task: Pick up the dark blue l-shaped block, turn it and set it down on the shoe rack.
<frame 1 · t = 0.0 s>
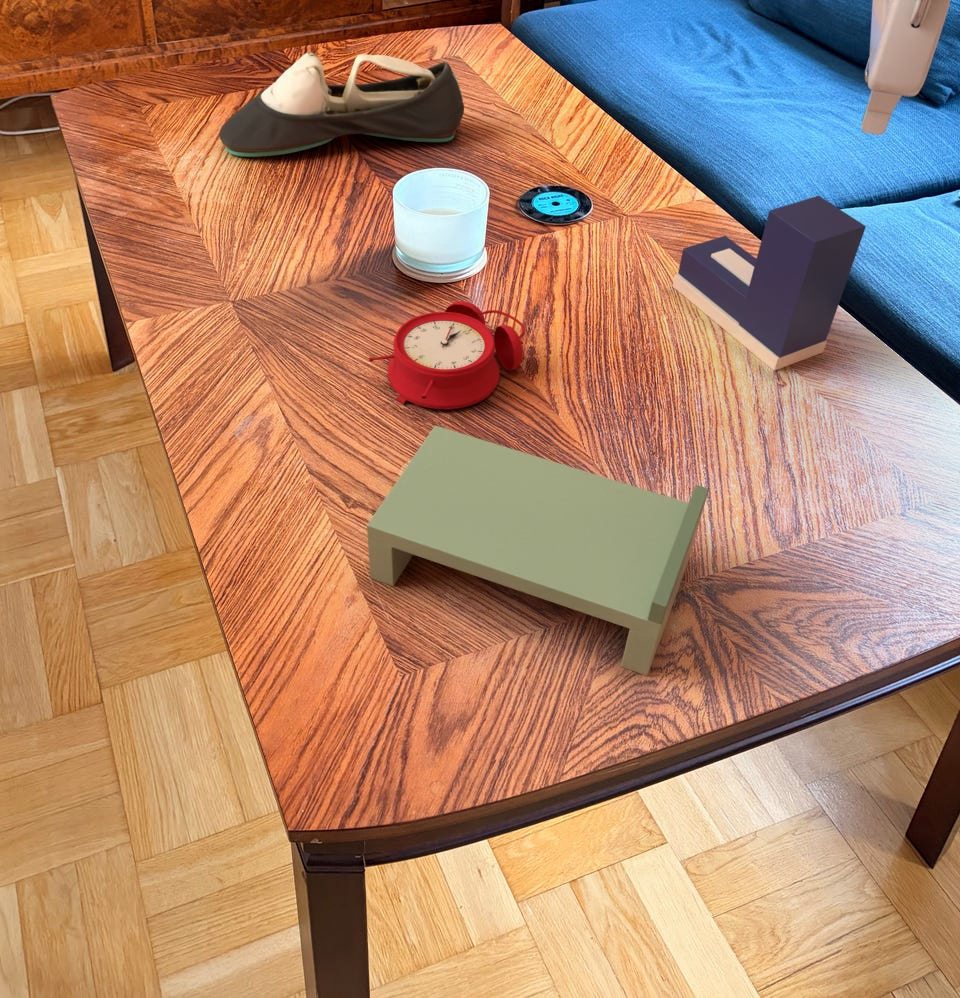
hand: (873, 104, 80), 25 cm above the table, tool pointing down, fingers open, 8 cm apart
alarm clock: (456, 370, 95), on the table
dark blue l-shaped block: (778, 345, 99), on the table
shoe rack: (532, 568, 78), on the table
ballet flat: (344, 142, 126), on the table
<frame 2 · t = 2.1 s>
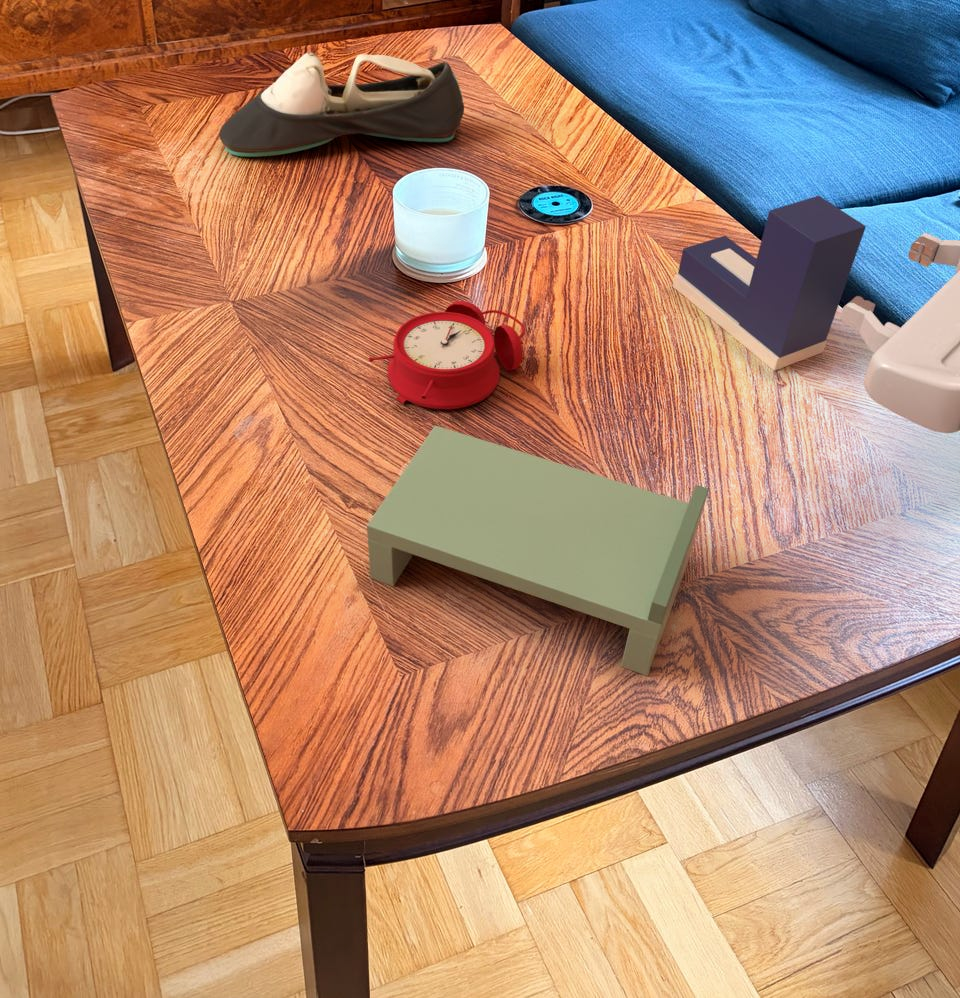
hand: (881, 275, 78), 17 cm above the table, tool horizontal, fingers open, 8 cm apart
nothing on the table moved.
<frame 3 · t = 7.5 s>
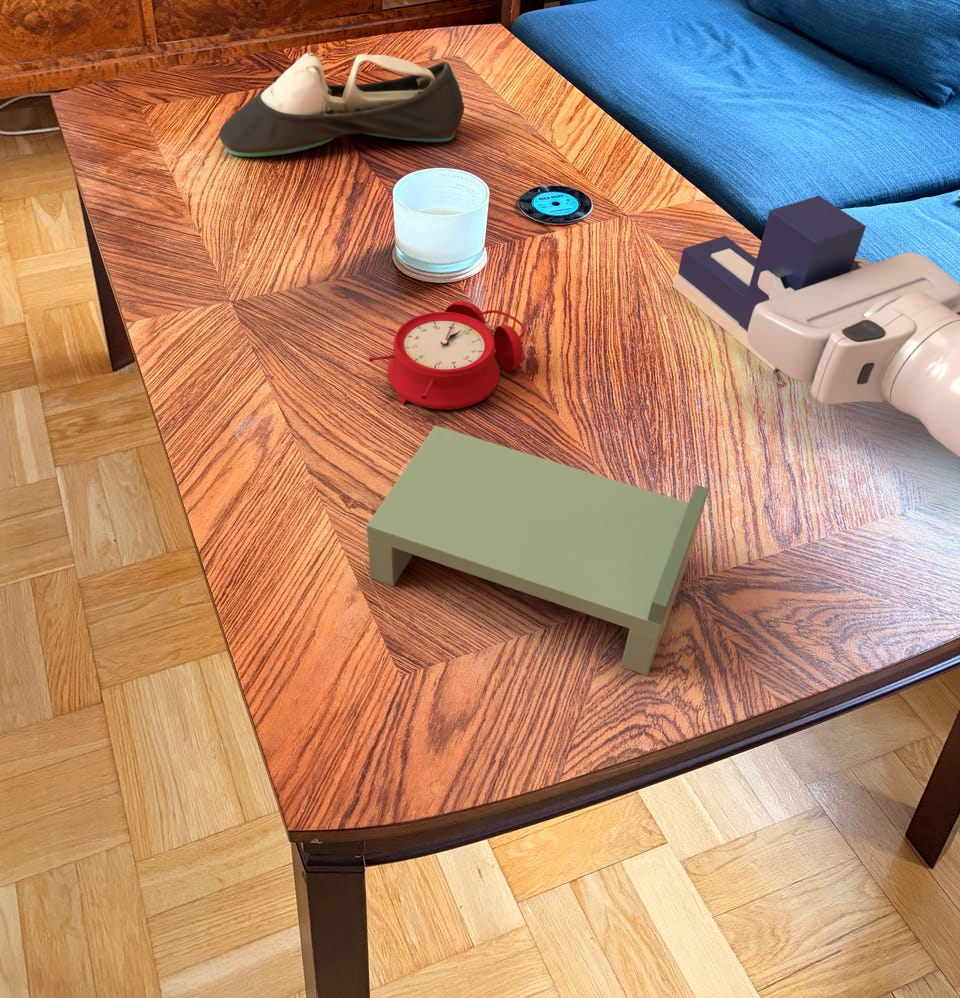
hand: (794, 266, 93), 9 cm above the table, tool horizontal, fingers closed on dark blue l-shaped block, 6 cm apart
dark blue l-shaped block: (778, 345, 99), on the table, touching gripper
everything else where it was.
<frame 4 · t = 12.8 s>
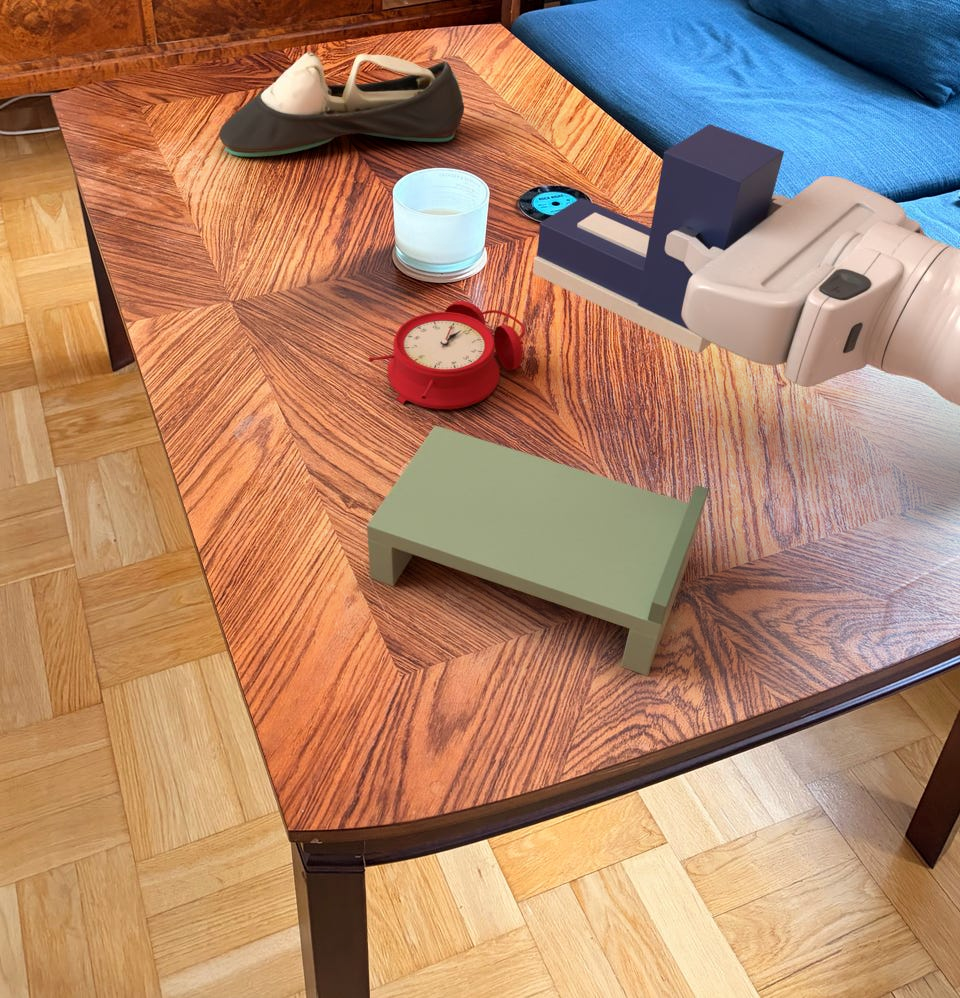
hand: (698, 218, 73), 22 cm above the table, tool horizontal, fingers closed on dark blue l-shaped block, 6 cm apart
dark blue l-shaped block: (687, 320, 79), point 13 cm above the table, touching gripper
everything else where it was.
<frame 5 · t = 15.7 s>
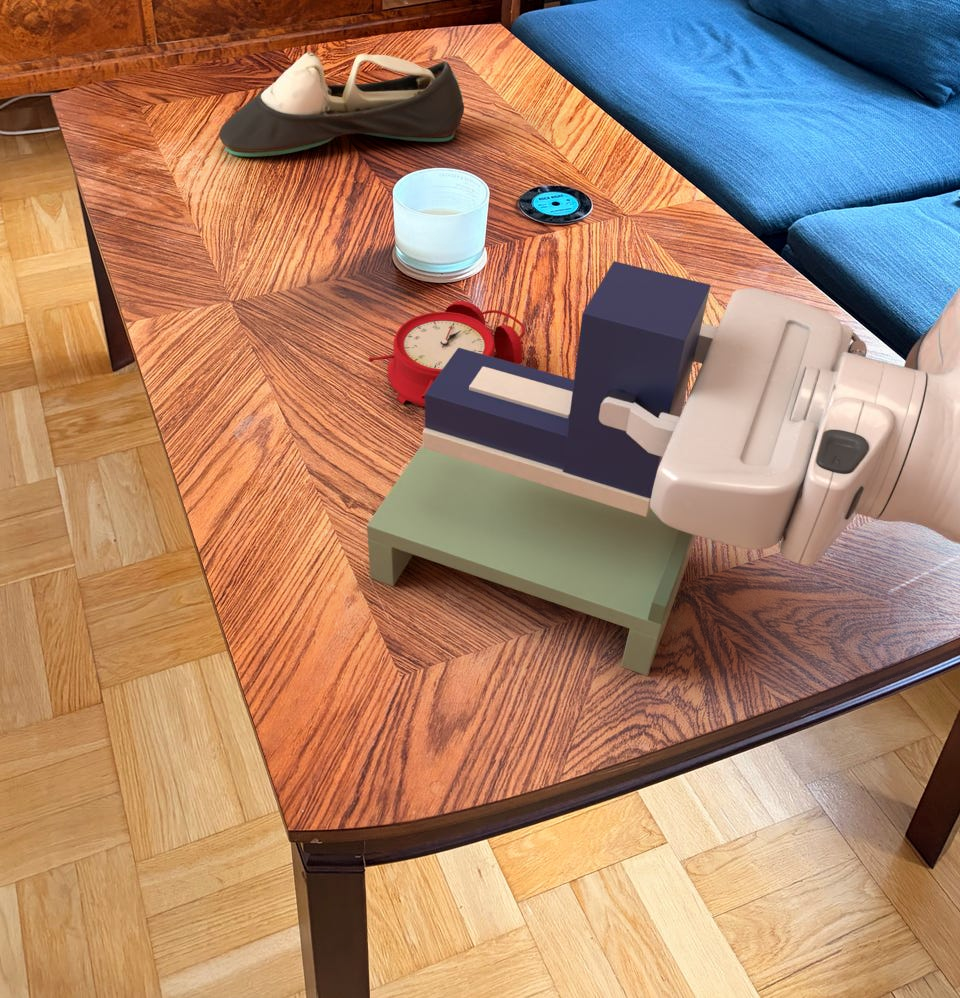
hand: (620, 370, 62), 21 cm above the table, tool horizontal, fingers closed on dark blue l-shaped block, 6 cm apart
dark blue l-shaped block: (616, 472, 68), point 12 cm above the table, touching gripper
everything else where it was.
when the fingers open (15 cm above the table, at t = 18.0 s): dark blue l-shaped block stays where it is, resting on shoe rack.
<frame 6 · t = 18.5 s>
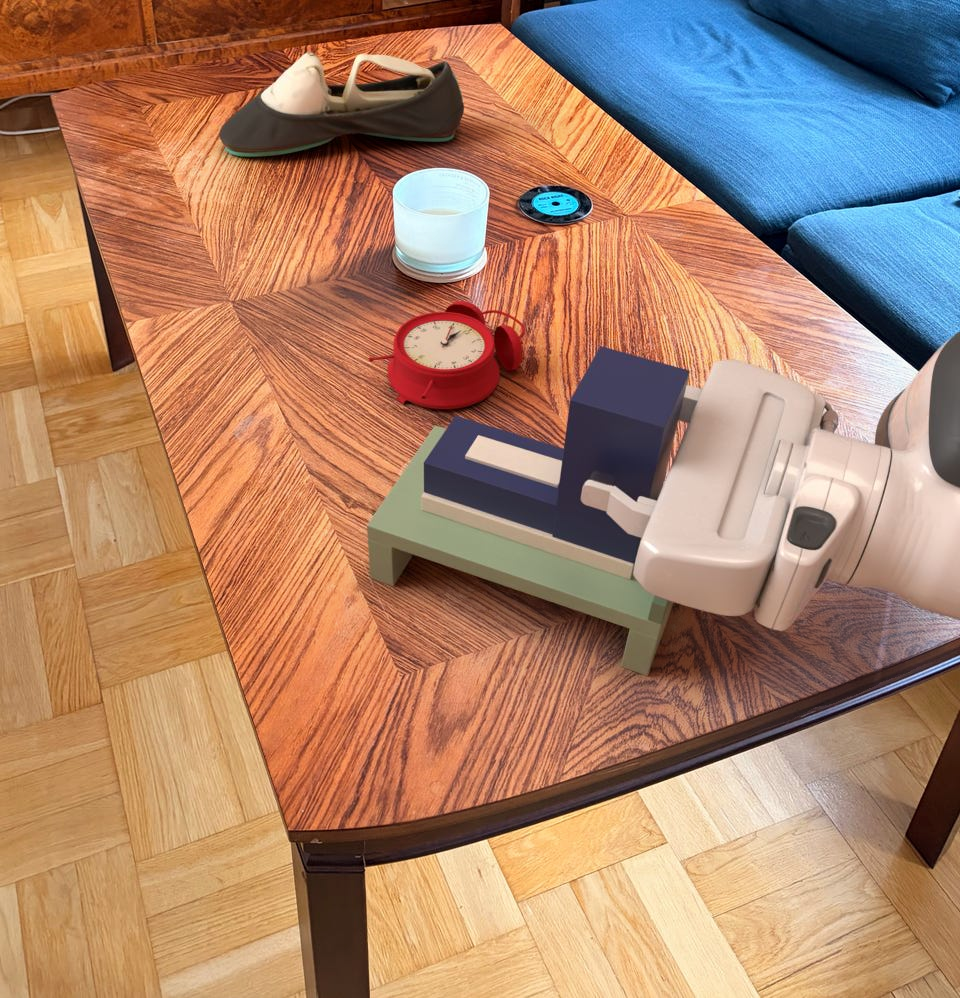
hand: (607, 439, 66), 15 cm above the table, tool horizontal, fingers open, 8 cm apart
dark blue l-shaped block: (603, 535, 72), point 6 cm above the table, touching shoe rack
everything else where it was.
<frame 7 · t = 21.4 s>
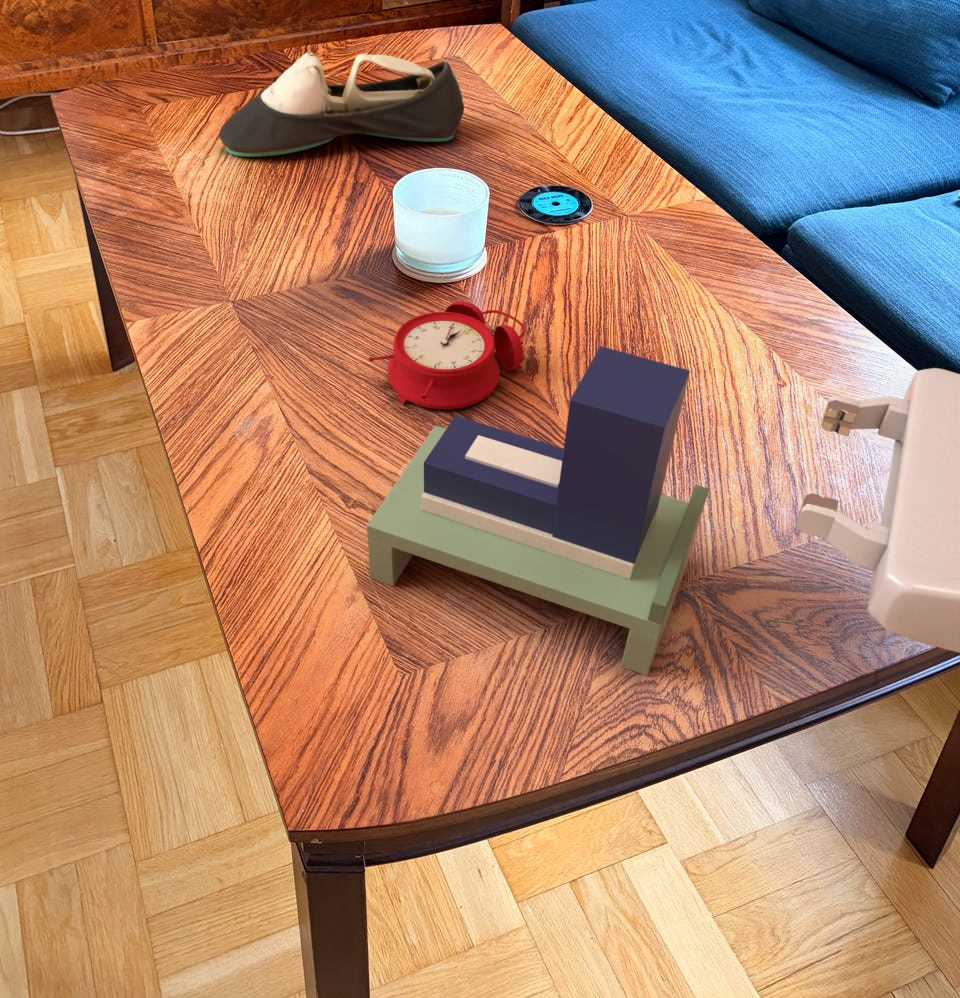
hand: (813, 458, 60), 19 cm above the table, tool horizontal, fingers open, 8 cm apart
nothing on the table moved.
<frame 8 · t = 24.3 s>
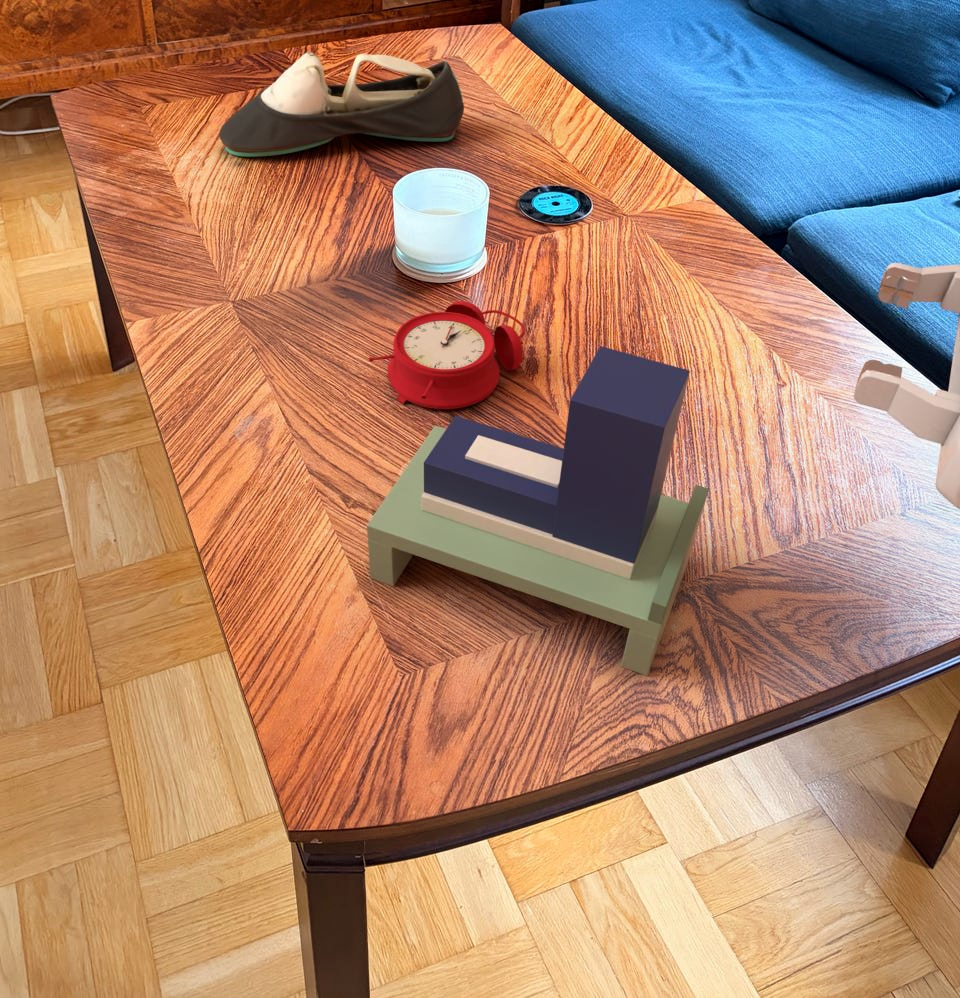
hand: (871, 327, 53), 28 cm above the table, tool horizontal, fingers open, 8 cm apart
nothing on the table moved.
at the end: dark blue l-shaped block inside the target area on the shoe rack (0.4 cm from its centre), point 6.0 cm above the shoe rack's base; dark blue l-shaped block tilted 0°; the gripper is holding nothing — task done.
